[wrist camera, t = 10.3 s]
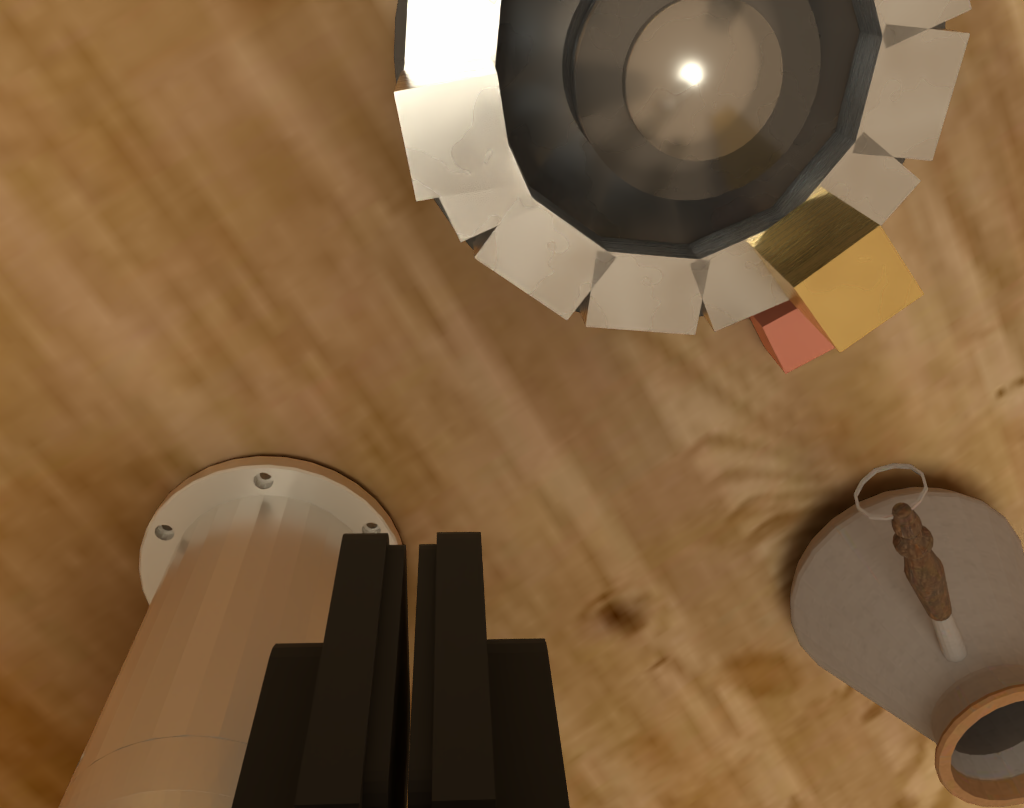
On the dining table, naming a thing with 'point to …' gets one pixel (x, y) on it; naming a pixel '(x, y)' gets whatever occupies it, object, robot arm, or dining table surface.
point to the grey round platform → (667, 105)
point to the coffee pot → (926, 626)
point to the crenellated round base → (720, 255)
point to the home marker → (789, 336)
